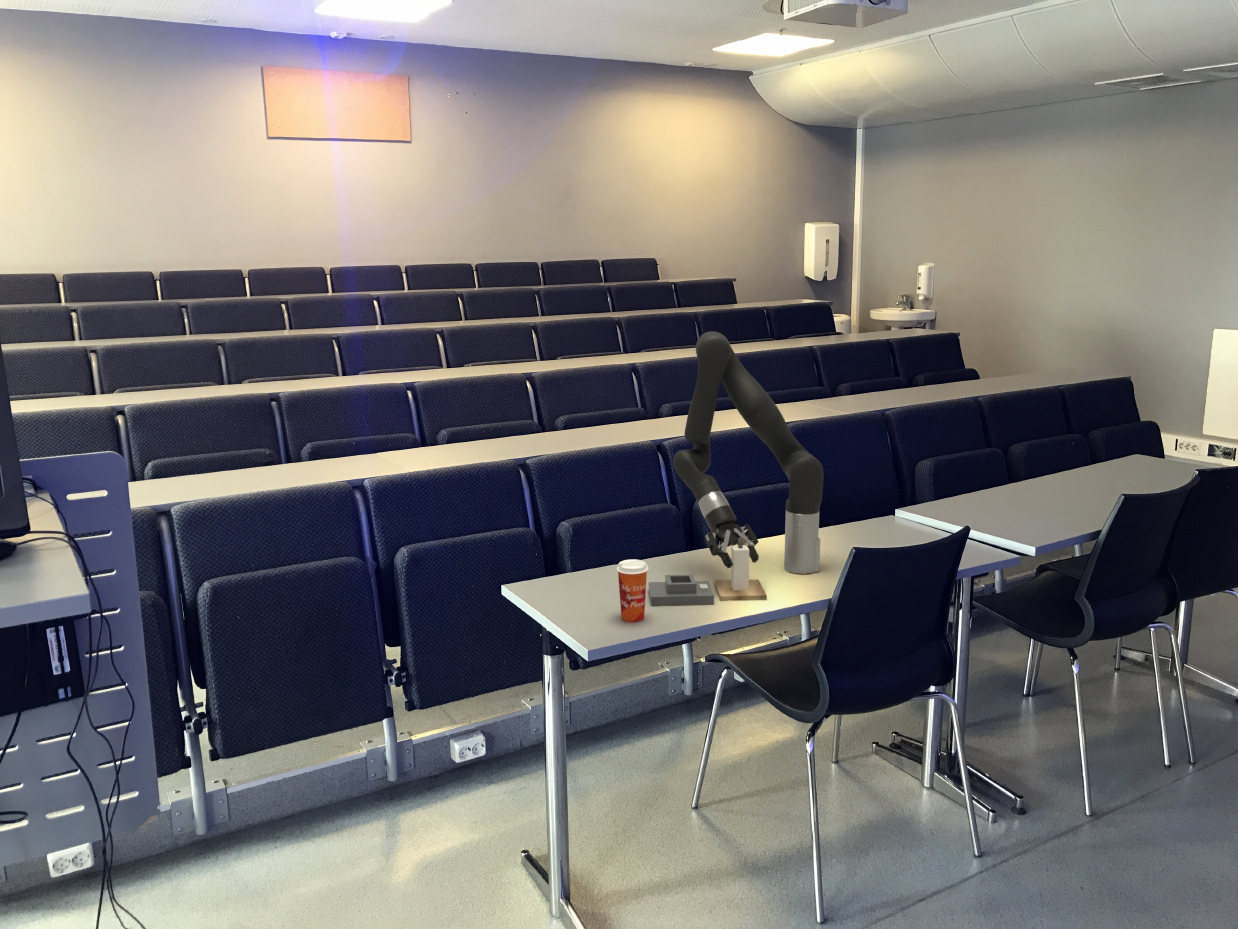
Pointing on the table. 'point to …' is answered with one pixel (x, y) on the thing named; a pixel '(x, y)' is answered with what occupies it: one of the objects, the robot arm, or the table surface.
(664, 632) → the table surface
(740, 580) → the plug
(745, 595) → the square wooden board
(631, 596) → the paper cup
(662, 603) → the gray socket base
